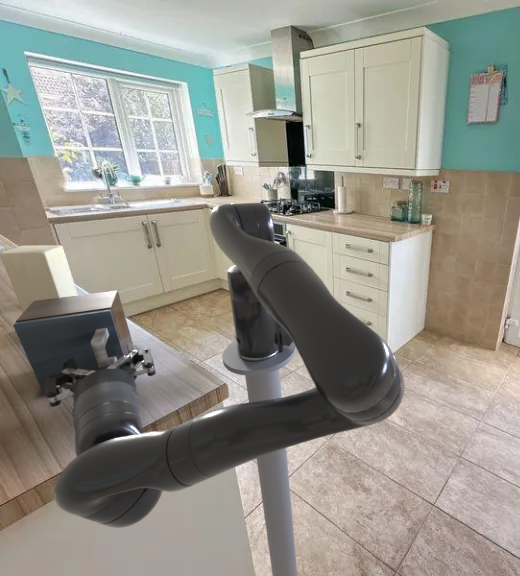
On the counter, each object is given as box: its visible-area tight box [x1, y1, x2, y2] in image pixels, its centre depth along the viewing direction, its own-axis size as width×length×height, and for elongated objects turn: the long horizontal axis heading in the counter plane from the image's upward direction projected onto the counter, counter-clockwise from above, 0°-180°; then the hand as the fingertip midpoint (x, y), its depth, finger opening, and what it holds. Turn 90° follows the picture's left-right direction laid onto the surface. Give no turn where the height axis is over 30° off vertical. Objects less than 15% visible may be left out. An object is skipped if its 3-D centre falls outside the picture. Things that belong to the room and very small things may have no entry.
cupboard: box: [15, 290, 134, 356], centre depth 66 cm, size 9×13×15 cm
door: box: [12, 309, 125, 395], centre depth 59 cm, size 7×13×15 cm, turn 120°
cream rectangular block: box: [0, 244, 79, 313], centre depth 77 cm, size 8×7×21 cm
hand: (102, 354), depth 61 cm, fingers open, 8 cm apart
